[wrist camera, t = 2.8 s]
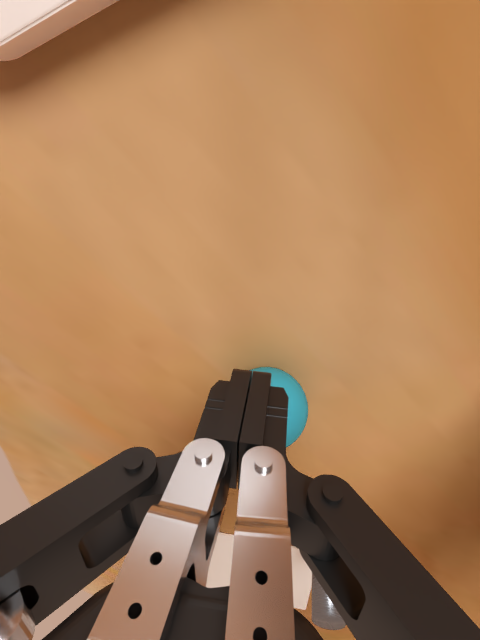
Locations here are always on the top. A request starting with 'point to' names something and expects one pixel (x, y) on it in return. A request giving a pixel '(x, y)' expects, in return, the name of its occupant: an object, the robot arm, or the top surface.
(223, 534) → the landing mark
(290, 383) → the ball
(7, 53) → the computer
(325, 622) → the post
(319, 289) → the top surface
